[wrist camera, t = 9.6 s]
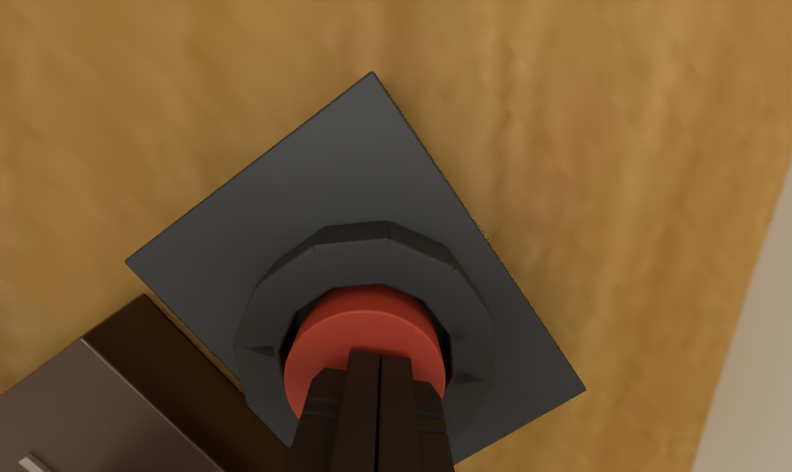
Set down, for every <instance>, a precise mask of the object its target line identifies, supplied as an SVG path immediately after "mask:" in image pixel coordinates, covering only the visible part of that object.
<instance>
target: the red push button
mask: <svg viewBox="0 0 792 472" xmlns="http://www.w3.org/2000/svg"><path fill="white" fill-rule="evenodd" d="M350 349H354V350H361V351H368V352H375V353H379V361H380V356H381V354H389V355H396V356H403V357H410V358H411V362H412V373H413V380H420V381H427V382H430V383H431V384H432V386H433V387H434V388H435V390H436V391H437V393H438V394H439V396H440V397H441V400H442V398H443V395H444V390H445V376H446V375H445V368H444V363H443V359H442V354H441V350H440V345H439V341H438V337H437V332H436V329H435V326H434V323H433V321H432V319H431V317H430V315H429V314H428V312H427V311H426V309H425V308H424V307H423V306H422V305H421V304H420V303H419V302H418V301H417V300H416V299H415V298H414V297H412V296H410V295H408V294H406V293H403V292H401V291H398V290H396V289H394V288H391V287H389V286H387V285H384V284H372V285H361V286H350V287H339V288H337V289H335V290H332V291H331V292H329V293H327V294H326V295H324V296H323V297H322V298H320V299H319V300H318V301H317V302H316V303H315V304H314V305H313V306H312V307H311V309H310V310H309V311H308V313H307V314H306V316H305V318H304V320H303V322H302V324H301V327H300V329H299V331H298V334H297V336H296V338H295V341H294V343H293V345H292V348H291V350H290V352H289V355H288V358H287V361H286V364H285V370H284V386H285V392H286V395H287V399H288V401H289V404H290V406H291V408H292V410H293V411H294V413H295V414H296V416H297V417H298V418H299V420H300V416H301V414H302V410H303V407H304V403H305V400H306V397H307V393H308V390H309V387H310V383H311V380H312V379H313V378H314V377H315V376H316V375H317V374H318V373H319V372H320V371H321V370H322V369H323V368H324V367H327V368H334V369H341V370H347V364H348V359H349V353H350Z"/></svg>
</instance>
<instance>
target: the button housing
mask: <svg viewBox="0 0 792 472" xmlns="http://www.w3.org/2000/svg"><path fill="white" fill-rule="evenodd" d="M125 263H126V264H127V265H128V266H129V267H130V268H131V269H132V270H133V271H134V272H135V273H136V274H137V275H138V277H139V278H140V279H141V280H142V281H143V282H144V283H145V284H146V285H147V286H148V287H149V288H150V289H151V290H152V291H153V292H154V293H155V294H156V295H157V296H158V297H159V298H160V299H161V300H162V301H163V302H164V303H165V304H166V305H167V306H168V308H169V309H170V310H171V311H172V312H173V313H174V314H175V315H176V316H177V317H178V318H179V319H180V320H181V321H182V322H183V323H184V324H185V325H186V326H187V327H188V328H189V329H190V330H191V331H192V332H193V333H194V334H195V335H196V336H197V337H198V339H199V340H200V341H201V342H202V343H203V344H204V345H205V346H206V347H207V348H208V349H209V350H210V351H211V352H212V353H213V354H214V355H215V356H216V357H217V358H218V359H219V360H220V361H221V362H222V363H223V364H224V365H225V366H226V367H227V369H228V370H229V371H230V372H231V373H232V374H233V375H234V376H235V377H236V378H237V379H238V380H239V381H240V382H241V384H242V388H243V392H244V396H245V401H246V402H247V406H248V407H249V408H250V409H251V410H252V411H253V412H254V413H255V414H256V415H257V416H258V417H259V418H260V419H261V420H262V421H263V422H264V423H265V424H266V425H267V426H268V427H269V428H270V429H271V430H272V431H273V432H274V433H275V434H276V436H277V437H278V438H279V439H280V440H281V441H282V442H283V443H284V444H285V445H286V446H287V447H290V448H291V446H292V443H293V440H294V436H295V433H296V430H297V426H298V423H299V418H298V417H297V416H296V414H295V413H294V411H293V410H292V408H291V406H290V404H289V401H288V399H287V395H286V392H285V386H284V370H285V364H286V361H287V358H288V355H289V352H290V350H291V348H292V345H293V343H294V341H295V338H296V336H297V334H298V331H299V329H300V327H301V324H302V322H303V320H304V318H305V316H306V314H307V313H308V311H309V310H310V309H311V307H312V306H313V305H314V304H315V303H316V302H317V301H318V300H319V299H320V298H322V297H323V296H324V295H326V294H327V293H329V292H331V291H332V290H335V289H337V288H339V287H350V286H361V285H372V284H384V285H387V286H389V287H391V288H394V289H396V290H398V291H401V292H403V293H406V294H408V295H410V296H412V297H414V298H415V299H416V300H417V301H418V302H419V303H420V304H421V305H422V306H423V307H424V308H425V309H426V311H427V312H428V314H429V315H430V317H431V319H432V321H433V323H434V326H435V329H436V332H437V337H438V341H439V345H440V350H441V354H442V359H443V363H444V368H445V375H446V376H445V390H444V395H443V398H442V405H443V411H444V419H445V421H446V427H447V434H448V438H449V443H450V448H451V454H452V459H453V465H455V464H457V463H459V462H460V461H462V460H464V459H466V458H467V457H469V456H471V455H473V454H475V453H476V452H478V451H480V450H482V449H483V448H485V447H487V446H489V445H490V444H492V443H494V442H496V441H497V440H499V439H501V438H503V437H505V436H506V435H508V434H510V433H512V432H513V431H515V430H517V429H519V428H520V427H522V426H524V425H526V424H528V423H529V422H531V421H533V420H535V419H536V418H538V417H540V416H542V415H543V414H545V413H547V412H549V411H551V410H552V409H554V408H556V407H558V406H559V405H561V404H563V403H565V402H566V401H568V400H570V399H572V398H574V397H575V396H577V395H579V394H581V393H582V392H584V391H586V387H585V386H584V384H583V383H582V381H581V380H580V378H579V377H578V375H577V374H576V372H575V371H574V369H573V368H572V366H571V365H570V363H569V362H568V360H567V359H566V357H565V356H564V354H563V353H562V351H561V350H560V348H559V347H558V345H557V344H556V342H555V341H554V340H553V338H552V337H551V335H550V334H549V332H548V331H547V329H546V328H545V326H544V325H543V323H542V322H541V320H540V319H539V317H538V316H537V314H536V313H535V311H534V310H533V308H532V307H531V305H530V304H529V302H528V301H527V299H526V298H525V296H524V295H523V293H522V292H521V290H520V289H519V287H518V286H517V284H516V283H515V281H514V280H513V278H512V277H511V275H510V274H509V272H508V271H507V269H506V268H505V266H504V265H503V263H502V262H501V261H500V259H499V258H498V256H497V255H496V253H495V252H494V250H493V249H492V247H491V246H490V244H489V243H488V241H487V240H486V238H485V237H484V235H483V234H482V232H481V231H480V229H479V228H478V226H477V225H476V223H475V222H474V220H473V219H472V217H471V216H470V214H469V213H468V211H467V210H466V208H465V207H464V205H463V204H462V202H461V201H460V199H459V198H458V196H457V195H456V193H455V192H454V190H453V189H452V187H451V186H450V184H449V183H448V182H447V180H446V179H445V177H444V176H443V174H442V173H441V171H440V170H439V168H438V167H437V165H436V164H435V162H434V161H433V159H432V158H431V156H430V155H429V153H428V152H427V150H426V149H425V147H424V146H423V144H422V143H421V141H420V140H419V138H418V137H417V135H416V134H415V132H414V131H413V129H412V128H411V126H410V125H409V123H408V122H407V120H406V119H405V117H404V116H403V114H402V113H401V111H400V110H399V108H398V107H397V105H396V104H395V102H394V101H393V100H392V98H391V97H390V95H389V94H388V92H387V91H386V89H385V88H384V86H383V85H382V83H381V82H380V80H379V79H378V77H377V76H376V74H375V73H374V72H373V71H371V72H369V73H368V74H367V75H366V76H364V77H363V78H362V79H360V80H359V81H358V82H356V83H355V84H354V85H353V86H351V87H350V88H349V89H347V90H346V91H345V92H343V93H342V94H341V95H340V96H338V97H337V98H336V99H334V100H333V101H332V102H330V103H329V104H328V105H326V106H325V107H324V108H323V109H321V110H320V111H319V112H317V113H316V114H315V115H313V116H312V117H311V118H310V119H308V120H307V121H306V122H304V123H303V124H302V125H300V126H299V127H298V128H297V129H295V130H294V131H293V132H291V133H290V134H289V135H287V136H286V137H285V138H284V139H282V140H281V141H280V142H278V143H277V144H276V145H274V146H273V147H272V148H271V149H269V150H268V151H267V152H265V153H264V154H263V155H261V156H260V157H259V158H257V159H256V160H255V161H254V162H252V163H251V164H250V165H248V166H247V167H246V168H244V169H243V170H242V171H241V172H239V173H238V174H237V175H235V176H234V177H233V178H231V179H230V180H229V181H228V182H226V183H225V184H224V185H222V186H221V187H220V188H218V189H217V190H216V191H215V192H213V193H212V194H211V195H209V196H208V197H207V198H205V199H204V200H203V201H202V202H200V203H199V204H198V205H196V206H195V207H194V208H192V209H191V210H190V211H188V212H187V213H186V214H185V215H183V216H182V217H181V218H179V219H178V220H177V221H175V222H174V223H173V224H172V225H170V226H169V227H168V228H166V229H165V230H164V231H162V232H161V233H160V234H159V235H157V236H156V237H155V238H153V239H152V240H151V241H149V242H148V243H147V244H146V245H144V246H143V247H142V248H140V249H139V250H138V251H136V252H135V253H134V254H132V255H131V256H130V257H129V258H127V259H126V260H125Z"/></svg>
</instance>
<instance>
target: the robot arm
mask: <svg viewBox="0 0 792 472" xmlns="http://www.w3.org/2000/svg"><path fill="white" fill-rule="evenodd" d="M284 472H455V470H454V465H453V459H452V454H451V448H450V443H449V438H448V434H447V427H446V421H445V419H444V411H443V405H442V400H441V397H440V396H439V394H438V393H437V391H436V390H435V388H434V387H433V386H432V384H431V383H430V382H427V381H420V380H413V373H412V362H411V358H410V357H403V356H396V355H389V354H381V356H380V361H379V353H375V352H368V351H361V350H354V349H350V353H349V359H348V364H347V370H341V369H334V368H327V367H324V368H323V369H322V370H321V371H320V372H319V373H318V374H317V375H316V376H315V377H314V378H313V379H312V380H311V383H310V387H309V390H308V393H307V397H306V400H305V403H304V407H303V410H302V414H301V416H300V420H299V423H298V426H297V430H296V433H295V436H294V440H293V443H292V446H291V449H290V453H289V456H288V459H287V463H286V466H285V469H284Z"/></svg>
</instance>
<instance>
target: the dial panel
mask: <svg viewBox="0 0 792 472" xmlns="http://www.w3.org/2000/svg"><path fill="white" fill-rule="evenodd" d="M290 449H291V448H290V447H287V446H286V445H285V444H284V443H283V442H282V441H281V440H280V439H279V438H278V437H277V436H276V434H275V433H274V432H273V431H272V430H271V429H270V428H269V427H268V426H267V425H266V424H265V423H264V422H263V421H262V420H261V419H260V418H259V417H258V416H257V415H256V414H255V413H254V412H253V411H252V410H251V409H250V408H249V407H248V406H247V402H246V401H245V398H244V397H243V396H242V395H241V394H240V393H239V392H238V391H237V390H236V389H235V388H234V387H233V386H232V385H231V384H230V383H229V382H228V381H227V379H226V378H225V377H224V376H223V375H222V374H221V373H220V372H219V371H218V370H217V369H216V368H215V367H214V366H213V365H212V364H211V363H210V362H209V361H208V360H207V359H206V358H205V357H204V356H203V355H202V354H201V353H200V352H199V351H198V350H197V349H196V348H195V347H194V346H193V345H192V344H191V343H190V342H189V341H188V340H187V339H186V338H185V337H184V335H183V334H182V333H181V332H180V331H179V330H178V329H177V328H176V327H175V326H174V325H173V324H172V323H171V322H170V321H169V320H168V319H167V318H166V317H165V316H164V315H163V314H162V313H161V312H160V311H159V310H158V309H157V308H156V307H155V306H154V305H153V304H152V303H151V302H150V301H149V300H148V299H147V298H146V297H145V296H144V295H143V294H142V295H140V296H138V297H137V298H135V299H134V300H132V301H131V302H130V303H128V304H127V305H125V306H124V307H122V308H121V309H120V310H118V311H117V312H115V313H114V314H112V315H111V316H109V317H108V318H107V319H105V320H104V321H102V322H101V323H99V324H98V325H97V326H95V327H94V328H92V329H91V330H89V331H88V332H86V333H85V334H84V335H82V336H81V337H79V338H78V339H77V340H75V341H74V342H73V343H71V344H70V345H69V346H67V347H66V348H65V349H63V350H62V351H61V352H59V353H58V354H57V355H55V356H54V357H53V358H51V359H50V360H49V361H47V362H46V363H44V364H43V365H42V366H40V367H39V368H38V369H36V370H35V371H34V372H32V373H31V374H30V375H28V376H27V377H26V378H24V379H23V380H22V381H20V382H19V383H18V384H16V385H15V386H14V387H12V388H11V389H10V390H8V391H7V392H6V393H4V394H3V395H2V396H0V472H284V469H285V466H286V463H287V459H288V456H289V453H290Z"/></svg>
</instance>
